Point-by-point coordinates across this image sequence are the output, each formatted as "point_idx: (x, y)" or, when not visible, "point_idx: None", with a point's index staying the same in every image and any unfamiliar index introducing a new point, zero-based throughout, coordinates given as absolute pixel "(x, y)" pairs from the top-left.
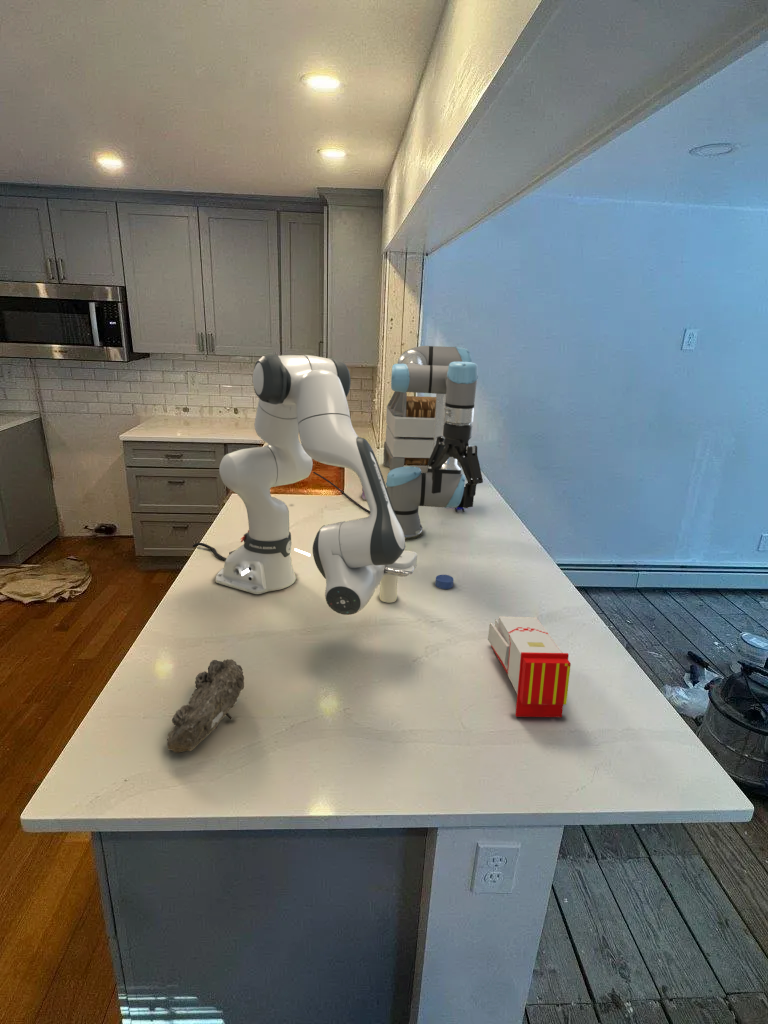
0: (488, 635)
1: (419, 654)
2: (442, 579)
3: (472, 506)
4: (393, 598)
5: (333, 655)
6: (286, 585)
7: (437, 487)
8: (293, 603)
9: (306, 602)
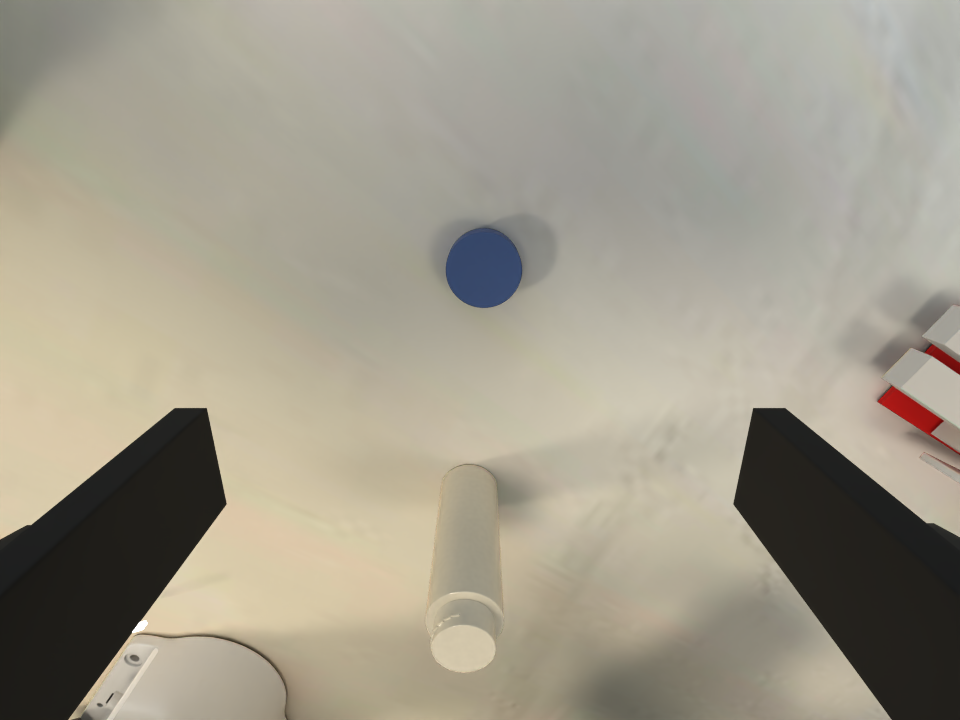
0: (932, 465)
1: (756, 568)
2: (487, 285)
3: (784, 412)
4: (497, 494)
5: (630, 703)
6: (277, 681)
7: (179, 496)
8: (371, 687)
9: (380, 664)
